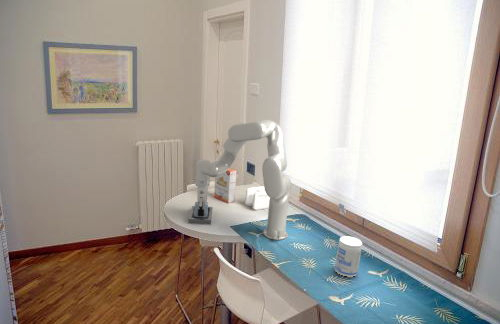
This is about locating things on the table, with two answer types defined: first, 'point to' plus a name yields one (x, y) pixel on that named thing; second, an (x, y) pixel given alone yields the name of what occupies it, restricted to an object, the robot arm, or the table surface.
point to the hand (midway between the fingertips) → (201, 213)
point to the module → (204, 210)
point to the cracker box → (226, 186)
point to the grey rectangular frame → (200, 221)
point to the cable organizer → (257, 198)
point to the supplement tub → (348, 256)
